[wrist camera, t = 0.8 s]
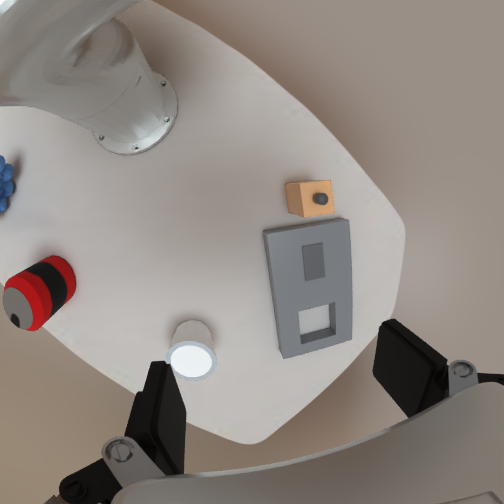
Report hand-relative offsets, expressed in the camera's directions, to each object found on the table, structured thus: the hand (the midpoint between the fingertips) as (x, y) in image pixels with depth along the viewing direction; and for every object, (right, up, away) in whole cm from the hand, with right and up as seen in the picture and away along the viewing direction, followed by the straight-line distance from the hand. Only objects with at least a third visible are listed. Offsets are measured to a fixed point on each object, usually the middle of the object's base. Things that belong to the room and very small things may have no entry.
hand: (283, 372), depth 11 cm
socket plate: (+8, 0, +30) cm, 31 cm away
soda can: (-32, +1, +24) cm, 40 cm away
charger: (+5, +13, +27) cm, 30 cm away
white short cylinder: (-10, -8, +29) cm, 32 cm away
